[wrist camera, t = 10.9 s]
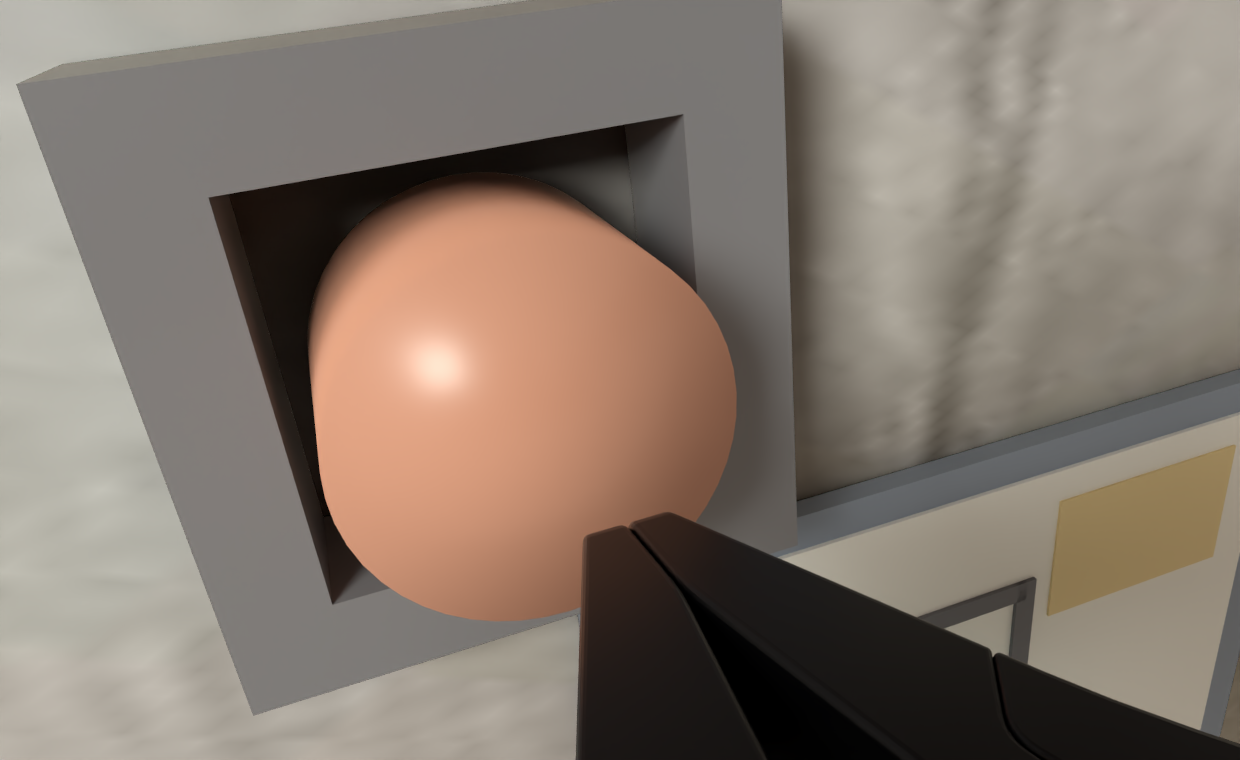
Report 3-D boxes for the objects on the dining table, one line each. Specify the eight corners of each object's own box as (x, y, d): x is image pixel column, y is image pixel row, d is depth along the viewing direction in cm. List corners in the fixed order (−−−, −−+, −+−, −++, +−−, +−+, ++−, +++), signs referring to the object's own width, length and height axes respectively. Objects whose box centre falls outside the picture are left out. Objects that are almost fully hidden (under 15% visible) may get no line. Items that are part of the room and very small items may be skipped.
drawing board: (1287, 354, 22) (1316, 365, 22) (1205, 723, 27) (1226, 740, 27) (570, 569, 18) (580, 590, 17) (633, 963, 23) (643, 990, 22)
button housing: (702, -24, 14) (780, -22, 12) (734, 476, 18) (797, 545, 16) (61, 64, 12) (16, 83, 10) (255, 613, 16) (253, 716, 14)
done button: (622, 143, 13) (725, 193, 10) (653, 443, 16) (746, 555, 13) (264, 208, 12) (263, 285, 9) (352, 524, 14) (375, 672, 11)
